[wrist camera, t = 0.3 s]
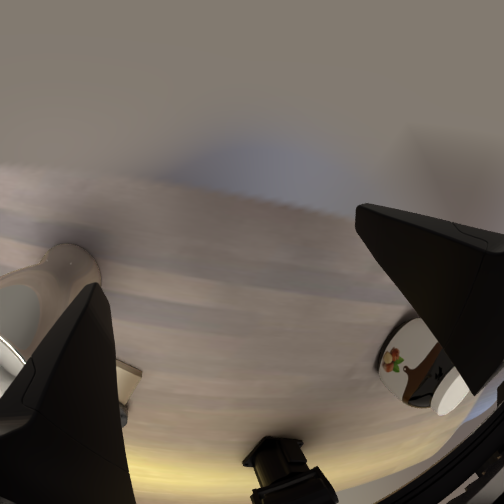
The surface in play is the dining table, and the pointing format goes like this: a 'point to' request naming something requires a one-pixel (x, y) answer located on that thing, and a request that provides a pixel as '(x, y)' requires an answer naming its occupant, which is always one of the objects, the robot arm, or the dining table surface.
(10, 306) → the beer glass
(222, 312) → the dining table surface
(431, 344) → the spread jar
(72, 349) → the robot arm
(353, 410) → the dining table surface
